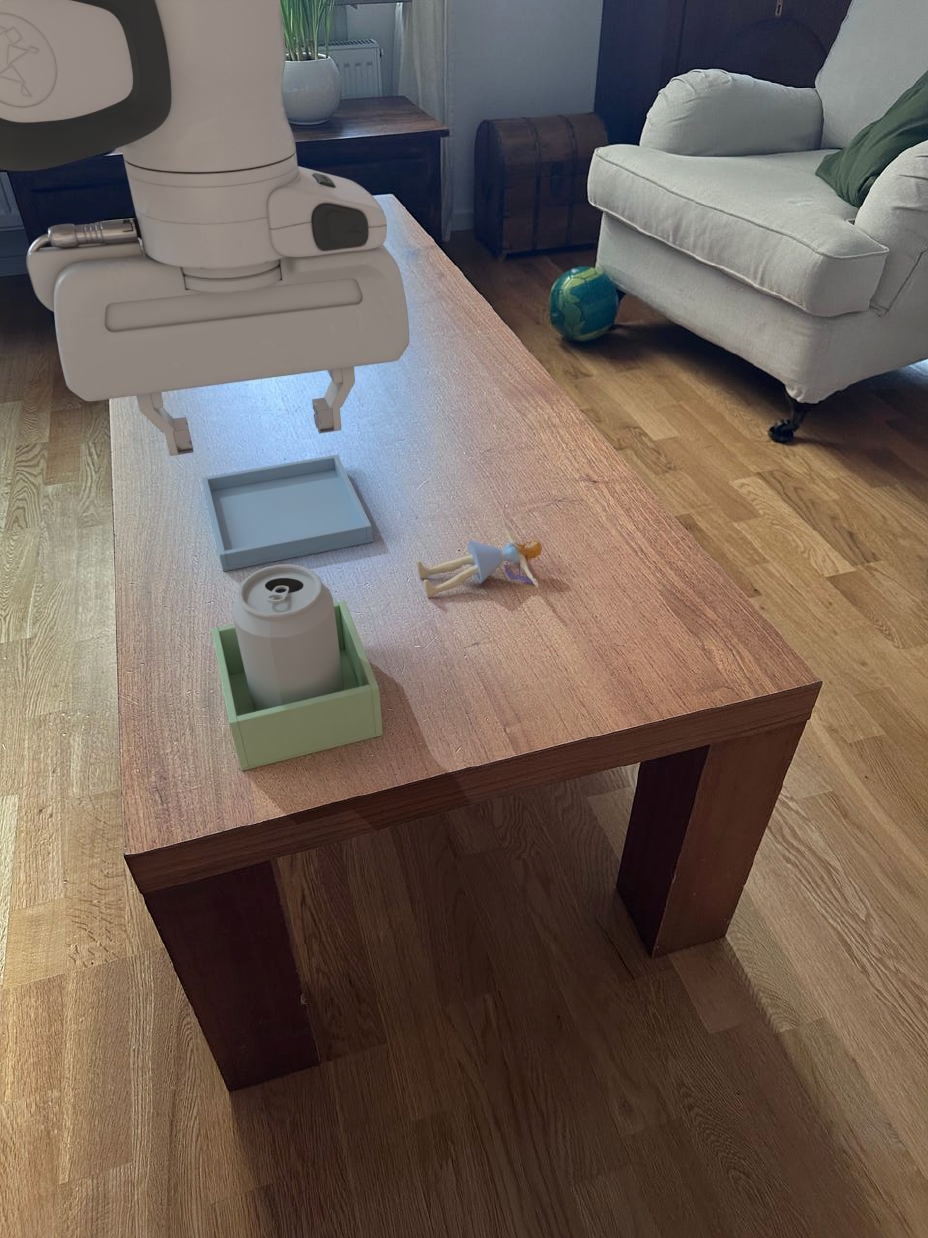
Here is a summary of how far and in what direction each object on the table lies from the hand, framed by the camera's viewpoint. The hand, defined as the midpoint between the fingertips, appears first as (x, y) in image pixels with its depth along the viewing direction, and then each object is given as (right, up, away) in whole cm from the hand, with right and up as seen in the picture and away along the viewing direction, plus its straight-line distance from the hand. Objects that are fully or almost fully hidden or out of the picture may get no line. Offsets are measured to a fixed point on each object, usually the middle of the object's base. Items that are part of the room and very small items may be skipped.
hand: (256, 439), depth 57 cm
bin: (0, -19, +16) cm, 25 cm away
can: (0, -19, +16) cm, 24 cm away
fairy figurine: (+15, -8, +29) cm, 34 cm away
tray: (-6, -1, +37) cm, 38 cm away
